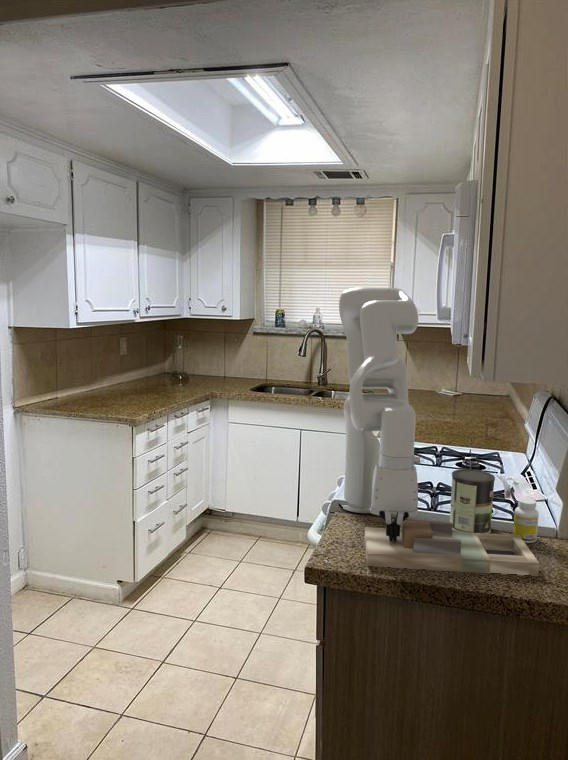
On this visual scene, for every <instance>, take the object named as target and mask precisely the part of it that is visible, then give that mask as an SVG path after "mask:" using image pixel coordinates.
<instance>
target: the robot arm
mask: <svg viewBox="0 0 568 760" xmlns="http://www.w3.org/2000/svg"><path fill="white" fill-rule="evenodd" d="M338 312H339V316H340V322H341V324H342V326H343V330H344V333H345V337H346V345H347V346H346V347H347V348H346V349H347V350H346V351H347V352H346V353H347V357H346V358H347V374H348V375H347V378H348V381H349V391H348V393H349V394H348V397H347V398H346V399H345V400H344V403H343V415H344V416H343V417H344V424H345V455H344V456H345V460H344V487H343V489H344V491H343V492H344V493H343V495H344V499H345V500H346V501H347V502H348V503H349V505H342V507H343V508H342V509H343V510H345V511H348V512H352V513H359V514H373V515H374V516H375V515H376V516H380V517H381V518H382V519H383V521H384V522H385V524H386V525H385V526H386V527H385V528H386V536H389V541H395V542H397V537H400V529H401V526H402V524H403V521H404V520H407V519H408V518H411V517H417V516H418V515H419V510H418V506H419V492H418V491H419V483H418V472H417V467H416V466H415V465H416V464H421V456H417V455H415V454H414V453H415V439H416V422H417V421H416V420H417V418H416V417H417V415H416V411H415V409H414V408H413V407H412V406H411V405H410V403H409V388H408V387H409V385H408V384H409V383H408V370H407V369H408V368H407V365H406V362H405V360H404V358H403V357H402V356H401V355H400V352H399V344H398V336H397V335H399V334H400V335H411V334H413V333H414V332H415V331H416V330H417V328H418V326H419V325H418V324H419V313H418V308H417V306H416V305H415V302H414V300H412V297H410V296H409V295H408V294H407V293H406V292H405V291H404V290H403V289H401V288H396V287H395V288H394V287H393V288H392V287H352V288H349V289H348V288H347V289H346V290H343V291H342V293H341V295H340V297H339V302H338ZM363 389H385V390H387V392H388V393H387V392H386V393H385V392H384V393H383V392H382V393H381V392H380V393H377V392H364V393H363ZM374 432H379V433H380V434H379V438H378V437H377V435H375V434H374ZM370 505H371V507H369V506H370ZM391 512H393V513H394V512H395V513H396V514H395V518H394V519H393V518H392V516H391Z"/></svg>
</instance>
